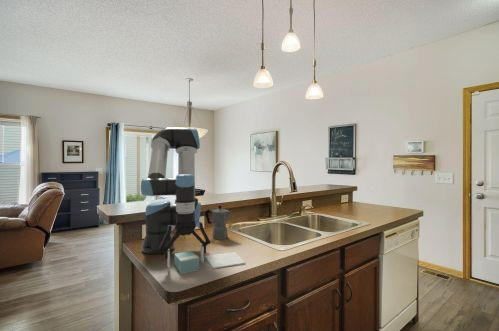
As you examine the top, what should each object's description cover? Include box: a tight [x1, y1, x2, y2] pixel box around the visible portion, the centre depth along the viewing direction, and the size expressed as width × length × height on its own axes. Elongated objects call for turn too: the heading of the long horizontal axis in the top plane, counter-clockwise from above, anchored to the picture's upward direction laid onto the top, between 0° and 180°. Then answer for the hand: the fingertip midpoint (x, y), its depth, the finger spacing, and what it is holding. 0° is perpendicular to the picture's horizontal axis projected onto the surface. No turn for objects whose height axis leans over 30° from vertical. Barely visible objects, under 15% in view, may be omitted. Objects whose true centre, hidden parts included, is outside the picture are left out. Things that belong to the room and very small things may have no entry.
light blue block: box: [173, 250, 200, 274], centre depth 110 cm, size 10×8×5 cm
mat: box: [204, 251, 246, 270], centre depth 117 cm, size 14×14×1 cm
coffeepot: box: [204, 205, 232, 240], centre depth 153 cm, size 15×9×18 cm, turn 82°
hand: (185, 263), depth 109 cm, fingers open, 13 cm apart
